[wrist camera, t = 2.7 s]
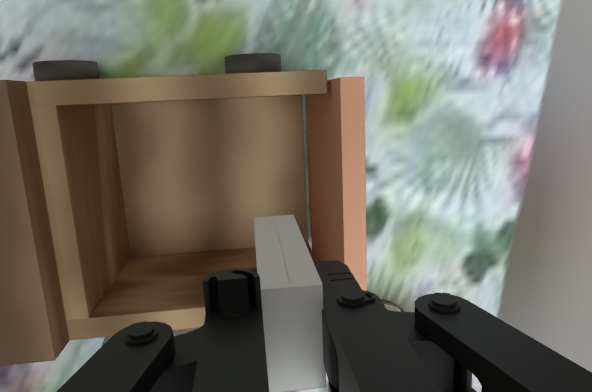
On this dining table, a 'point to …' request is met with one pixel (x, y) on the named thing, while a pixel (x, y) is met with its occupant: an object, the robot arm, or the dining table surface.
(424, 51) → the dining table surface
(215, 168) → the truck
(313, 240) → the cabinet door
